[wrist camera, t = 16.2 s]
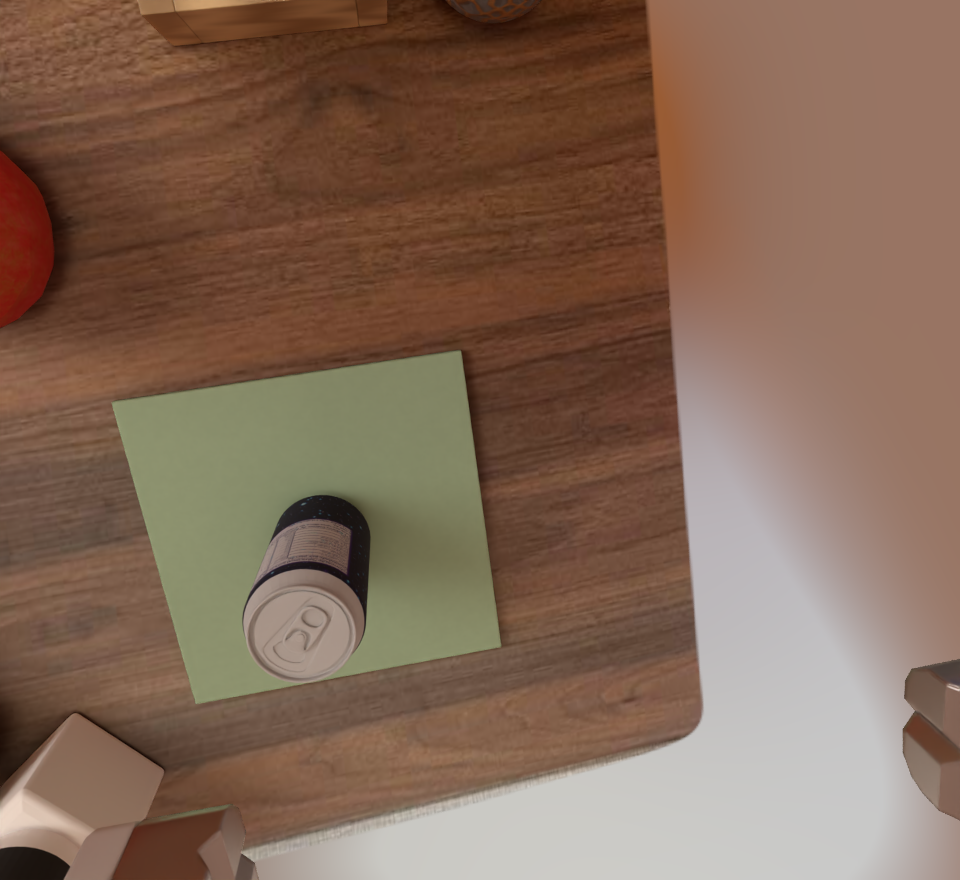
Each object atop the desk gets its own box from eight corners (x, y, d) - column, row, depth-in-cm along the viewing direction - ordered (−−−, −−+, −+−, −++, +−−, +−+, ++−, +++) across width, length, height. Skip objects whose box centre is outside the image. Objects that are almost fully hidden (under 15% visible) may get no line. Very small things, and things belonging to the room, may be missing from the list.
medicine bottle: (3, 782, 45) (-126, 963, 34) (75, 708, 45) (-31, 867, 33) (97, 838, 47) (5, 1027, 36) (168, 768, 47) (97, 938, 35)
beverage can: (258, 547, 43) (212, 656, 31) (308, 472, 42) (279, 556, 31) (339, 591, 44) (322, 710, 33) (388, 519, 44) (389, 616, 32)
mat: (460, 349, 42) (461, 350, 41) (500, 643, 47) (501, 647, 47) (114, 400, 40) (111, 402, 40) (197, 699, 46) (195, 704, 45)
